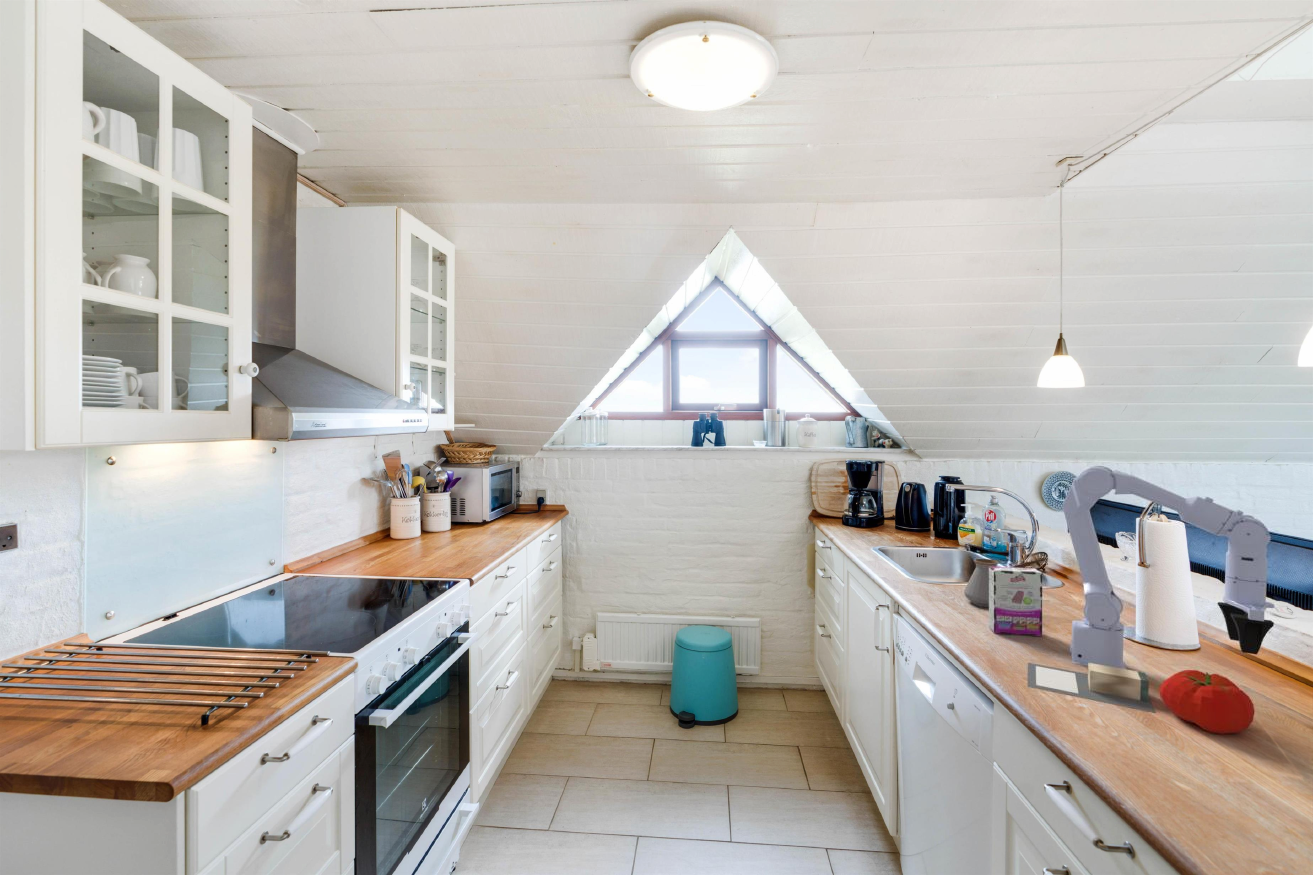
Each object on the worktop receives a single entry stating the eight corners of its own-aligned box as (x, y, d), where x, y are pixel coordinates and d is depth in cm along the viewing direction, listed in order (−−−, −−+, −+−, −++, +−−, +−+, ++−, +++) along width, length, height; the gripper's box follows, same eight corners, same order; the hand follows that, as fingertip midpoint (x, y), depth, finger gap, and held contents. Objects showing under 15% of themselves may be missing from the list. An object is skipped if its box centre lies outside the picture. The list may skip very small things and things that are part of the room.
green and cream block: (1089, 690, 117) (1090, 670, 116) (1087, 681, 120) (1088, 662, 120) (1148, 701, 112) (1148, 681, 112) (1144, 692, 116) (1144, 672, 115)
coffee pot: (965, 606, 171) (966, 556, 170) (961, 596, 181) (962, 548, 181) (1051, 616, 163) (1053, 562, 162) (1042, 604, 173) (1043, 554, 173)
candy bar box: (1034, 630, 151) (1036, 567, 151) (1042, 637, 146) (1043, 572, 146) (987, 626, 154) (988, 565, 154) (993, 633, 149) (994, 569, 149)
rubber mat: (1027, 688, 118) (1027, 685, 118) (1027, 664, 130) (1027, 661, 130) (1155, 714, 108) (1155, 712, 107) (1143, 686, 119) (1143, 683, 119)
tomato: (1157, 700, 113) (1158, 657, 113) (1248, 721, 105) (1249, 674, 105) (1160, 727, 103) (1161, 679, 103) (1260, 752, 95) (1261, 700, 95)
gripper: (1288, 590, 106) (1285, 663, 107) (1261, 573, 119) (1258, 638, 119) (1235, 584, 110) (1232, 655, 111) (1214, 568, 122) (1212, 632, 123)
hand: (1243, 646), depth 115 cm, fingers open, 7 cm apart
